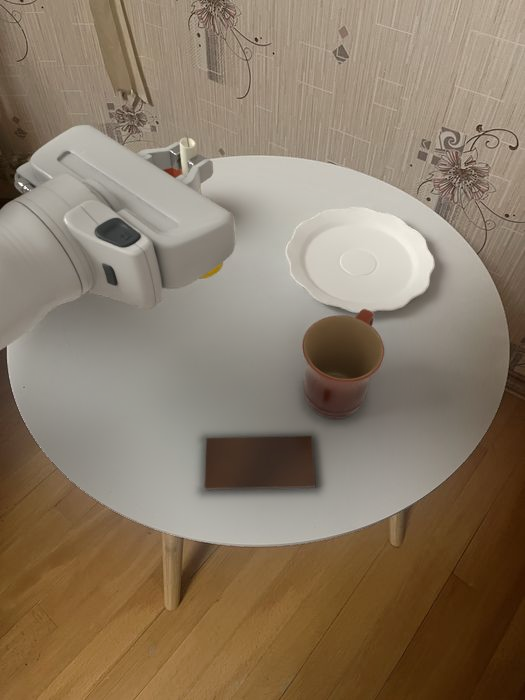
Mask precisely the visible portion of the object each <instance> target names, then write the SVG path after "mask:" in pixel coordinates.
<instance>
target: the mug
mask: <svg viewBox="0 0 525 700" xmlns="http://www.w3.org/2000/svg"><path fill="white" fill-rule="evenodd" d="M375 316H376V315H375V313H374V312H372V311H370V310H368V309H362V310H361V311H360V312H359V313H357V315H356V316H351V315H347V314H346V315H345V314H341V315H340V314H339V315H331V316H330V315H329V316H326V317H323V318H321V319H319V320H317V321H316V322H313V324H312V325H310V327H308V329H307V330H306V332H305V334H304V336H303V339H302V345H301V347H302V354H303V357H304V359H305V362H306V367H305V371H304V377H303V383H302V384H303V387H302V388H303V394H304V396H305V401H306V403H307V405H308V406H309V408H310V409H311V410H312V411H313V412H314V413H316V414H317V415H319V416H320V417H323V418H326V419H330V420H343V419H346V418H348V417H350V416H352V415H354V414H355V413H356V412H357V411H358V410H359V409H360V407H361V405H363V403H364V401H365V400H366V397H367V393H368V390H369V385H370V380H371V377H372V376H373V375H374V374H375V373H376V372H377V371H378V370H379V368H380V367H381V366H382V363H383V361H384V358H385V345H384V341H383V339H382V337H381V335H380V334H379V332H378V331H377V330H376V329H375V328H374V326H373V324H374V320H375Z"/></svg>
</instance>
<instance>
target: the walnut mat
mask: <svg viewBox="0 0 525 700" xmlns="http://www.w3.org/2000/svg"><path fill="white" fill-rule="evenodd" d="M204 463H205V466H204V490H205V491H237V490H238V491H242V490H245V491H247V490H284V489H285V490H287V489H288V490H290V489H291V490H292V489H315V488H316V475H315V463H314V451H313V441H312V436H311V435H300V436H298V435H297V436H296V435H293V436H291V435H290V436H249V437H248V436H246V437H244V436H243V437H241V436H239V437H207V438H206V439H205V461H204Z"/></svg>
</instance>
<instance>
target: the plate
mask: <svg viewBox="0 0 525 700" xmlns="http://www.w3.org/2000/svg"><path fill="white" fill-rule="evenodd" d="M293 231H294V232H293V234H292V237H291V238H290V239H289V241H288V243H286V246H285V253H284V255H285V257H286V259H287V261H288V263H289V264H288V265H289V274H290V276H291V278H292V279H293V281H294V282H295V284H296V283H297V285H299V286H300V287H301V288H303V289H304V290H306V292H307V293H308V294H309V295H310V297H312V298H313V299H314V300H315V301H317V302H319V303H321V304H323V305H324V306H325V305H327V306H332V307H337V308H340V309H342V310H345V311H348V312H350V313H353V314H358V313H359V312H360V311H361V310H362V309H368V310H370V311H372V312H373V313H374V312H375V313H376V312H379V311H380V312H382V311H383V312H385V311H387V312H388V311H389V312H390V311H391V312H393V311H396V310H399V309H402V308H404V307H406V305H408V303H410V302H411V301H412V300H413V299H416V298H418V297H419V296H421V295H424V293H426V291H427V289H428V288H429V287H430V283H431V275H432V273H433V271H434V269H435V267H436V262H435V257H434V255H433V253H432V252H431V251H430V249H429V247H428V244H427V239H426V237H425V236H423V234H422V233H421V232H420V231H418V230H416V229H415V228H413V227H411V226H410V225H408V224H407V223H406V222H405V221H404V220H403V219H402V218H401V217H398V216H396V215H394V214H392V213H387V212H383V211H377V210H375V209H371V208H368V207H363V206H351V207H346V208H328V209H325V210H322V211H320V212H318V213H317V214H316V215H314V216H313V217H311V218H309V219H306V220H303V221H301V222H300V223H299V224H298V225H297V226H296V227H295V228H294V230H293Z"/></svg>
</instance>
